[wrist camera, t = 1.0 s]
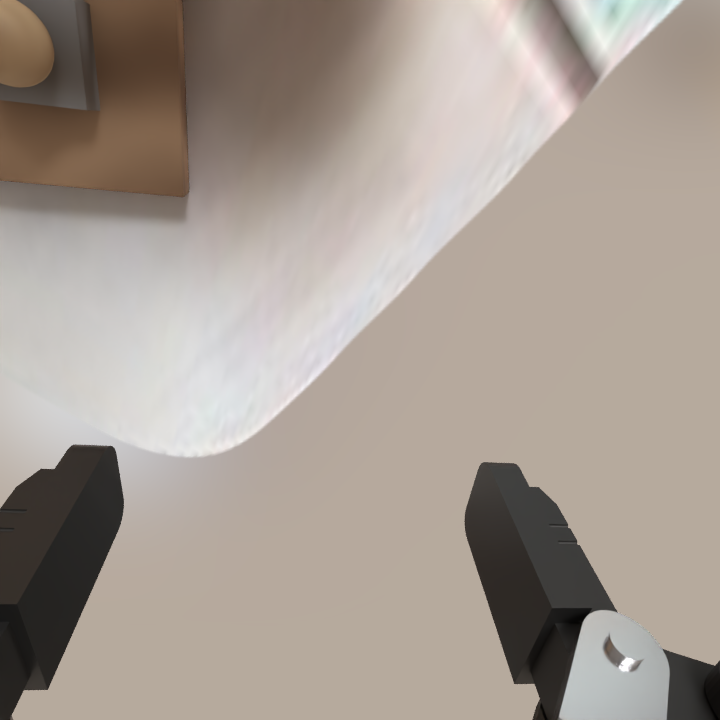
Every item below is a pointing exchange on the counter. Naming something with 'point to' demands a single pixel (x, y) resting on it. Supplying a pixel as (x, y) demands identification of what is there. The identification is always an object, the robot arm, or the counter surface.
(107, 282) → the counter surface
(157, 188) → the nutcracker bench
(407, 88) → the counter surface
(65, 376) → the counter surface
